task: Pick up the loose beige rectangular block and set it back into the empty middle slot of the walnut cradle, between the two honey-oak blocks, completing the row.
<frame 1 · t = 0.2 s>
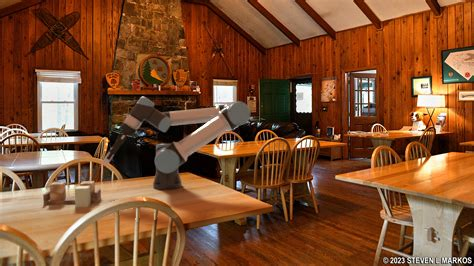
hand: (105, 161, 171), 16 cm above the table, tool tilted 35°, fingers open, 13 cm apart
beige rectangular block: (83, 205, 153), on the table
cradle: (73, 201, 159), on the table
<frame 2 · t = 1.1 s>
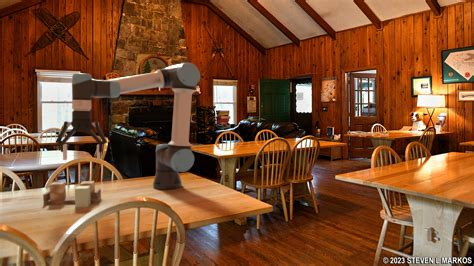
hand: (81, 159, 152), 20 cm above the table, tool pointing down, fingers open, 13 cm apart
nothing on the table moved.
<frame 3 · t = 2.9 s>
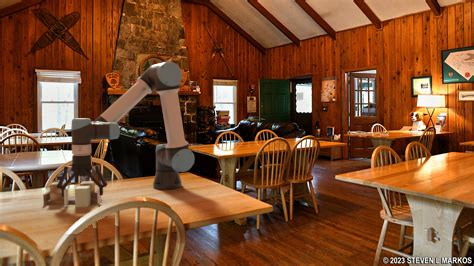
hand: (82, 203, 153), 1 cm above the table, tool pointing down, fingers open, 13 cm apart
nothing on the table moved.
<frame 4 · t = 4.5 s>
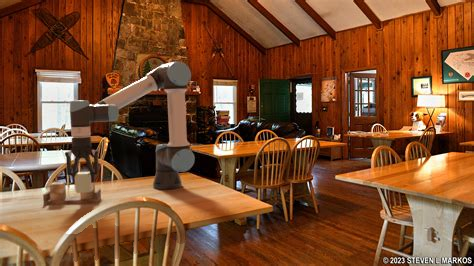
hand: (84, 190, 153), 7 cm above the table, tool pointing down, fingers closed on beige rectangular block, 5 cm apart
beige rectangular block: (84, 191, 153), point 6 cm above the table, touching gripper
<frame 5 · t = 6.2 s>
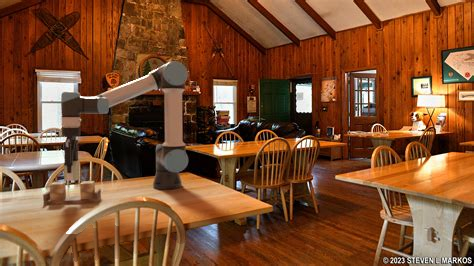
hand: (71, 178, 159), 10 cm above the table, tool pointing down, fingers closed on beige rectangular block, 5 cm apart
beige rectangular block: (71, 179, 159), point 10 cm above the table, touching gripper
when the fingers open (3 cm above the table, at t = 8.0 s): beige rectangular block stays where it is, resting on cradle.
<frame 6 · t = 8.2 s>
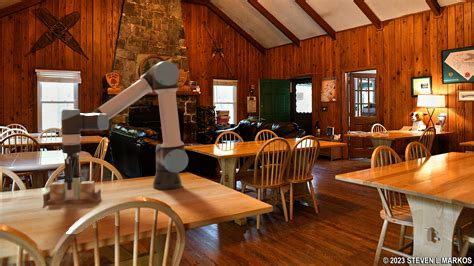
hand: (73, 194, 159), 3 cm above the table, tool pointing down, fingers open, 8 cm apart
beige rectangular block: (73, 198, 159), point 1 cm above the table, touching cradle
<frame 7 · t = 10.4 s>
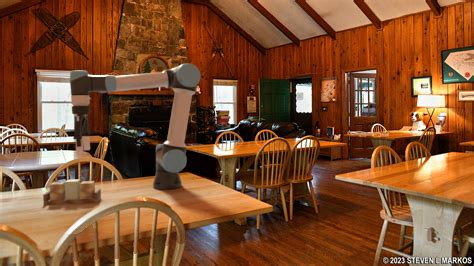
hand: (83, 152, 162), 22 cm above the table, tool pointing down, fingers open, 13 cm apart
nothing on the table moved.
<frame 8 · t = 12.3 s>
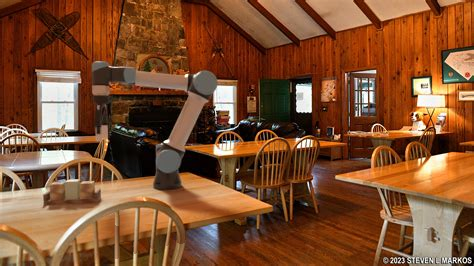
hand: (102, 139, 169), 27 cm above the table, tool pointing down, fingers open, 13 cm apart
nothing on the table moved.
at the end: beige rectangular block 0.0 cm off-centre on the cradle, point 1.5 cm above the cradle's base; beige rectangular block tilted 0°; the gripper is holding nothing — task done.
